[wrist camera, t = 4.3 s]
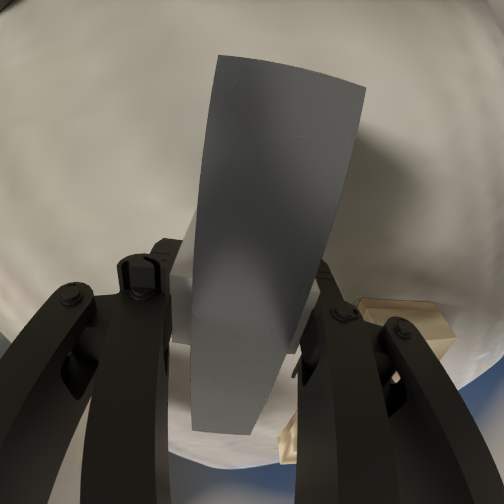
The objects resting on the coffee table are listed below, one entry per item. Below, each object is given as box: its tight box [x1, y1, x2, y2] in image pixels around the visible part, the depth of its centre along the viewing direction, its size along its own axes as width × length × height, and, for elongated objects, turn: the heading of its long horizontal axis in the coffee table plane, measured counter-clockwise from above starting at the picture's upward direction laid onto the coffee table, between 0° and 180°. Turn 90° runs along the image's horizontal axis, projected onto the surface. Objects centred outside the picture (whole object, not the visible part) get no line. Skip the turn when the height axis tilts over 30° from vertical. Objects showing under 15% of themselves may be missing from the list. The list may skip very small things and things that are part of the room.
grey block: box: [190, 55, 366, 435], centre depth 10 cm, size 13×3×8 cm, turn 171°
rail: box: [278, 298, 457, 464], centre depth 21 cm, size 24×7×4 cm, turn 171°
